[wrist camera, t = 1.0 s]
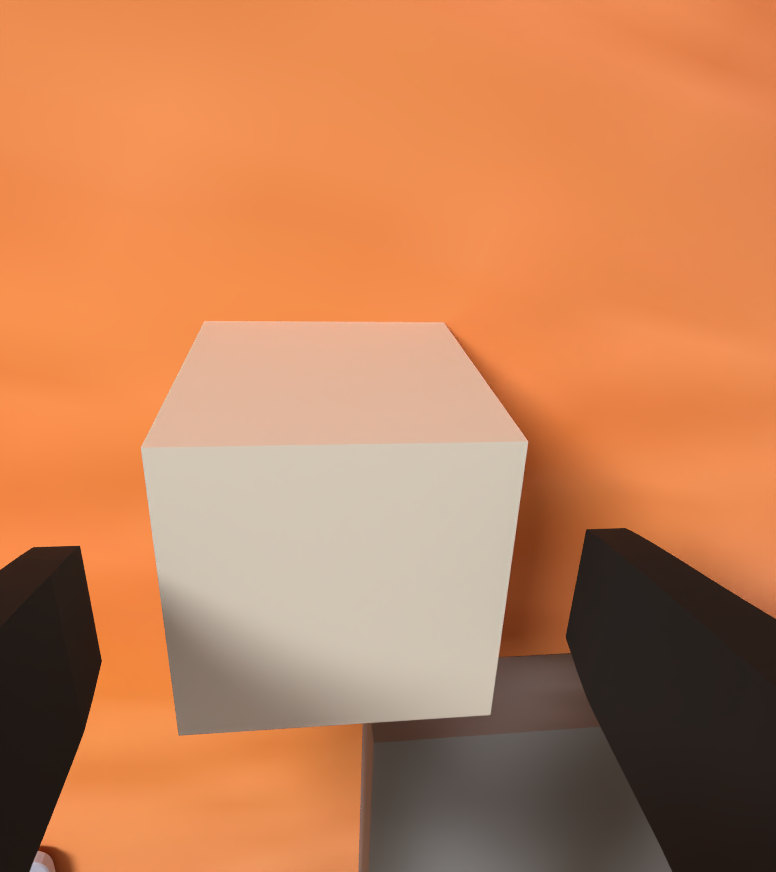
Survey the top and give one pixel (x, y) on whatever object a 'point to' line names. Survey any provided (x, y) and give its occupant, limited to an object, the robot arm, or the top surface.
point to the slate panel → (503, 786)
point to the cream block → (331, 525)
